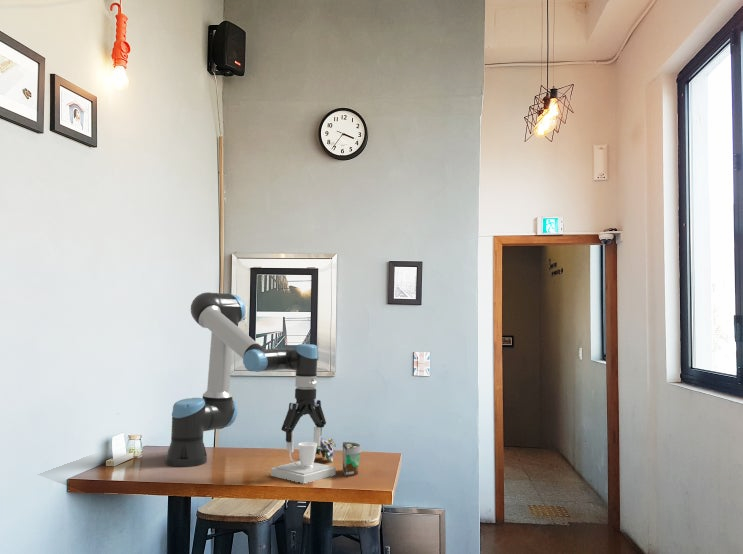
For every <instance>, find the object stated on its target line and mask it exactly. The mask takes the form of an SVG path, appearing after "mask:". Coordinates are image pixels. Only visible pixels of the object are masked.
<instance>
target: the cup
mask: <svg viewBox="0 0 743 554" xmlns="http://www.w3.org/2000/svg"><path fill="white" fill-rule="evenodd" d="M294 448H296V449H298V456H299V461H300V462H301V465H298V464H297V463H296V462H297V461H295V460H294V459H293V458H292V452H289V455H288V456H289V459H290V461H291V463H294V464H296V465H297V466H299V467H301V468H305V469H308V468H313V463H315V459H316V456H315V454H316V448H317V443H314V441H313V442H312V441H303V442H302V441H301V442H299V443H297V445H294ZM316 455H317V454H316Z"/></svg>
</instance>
